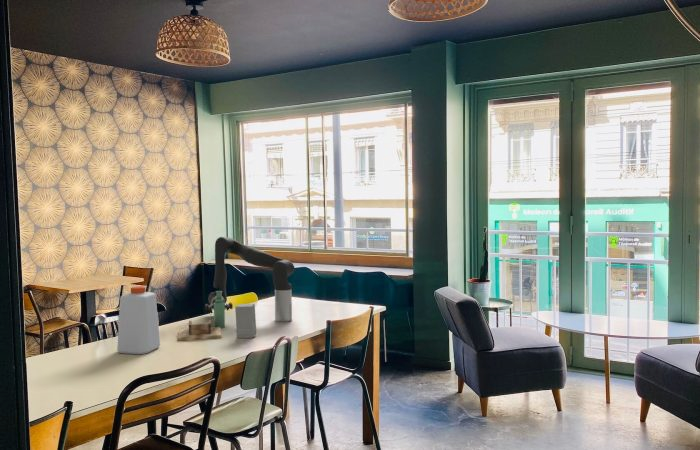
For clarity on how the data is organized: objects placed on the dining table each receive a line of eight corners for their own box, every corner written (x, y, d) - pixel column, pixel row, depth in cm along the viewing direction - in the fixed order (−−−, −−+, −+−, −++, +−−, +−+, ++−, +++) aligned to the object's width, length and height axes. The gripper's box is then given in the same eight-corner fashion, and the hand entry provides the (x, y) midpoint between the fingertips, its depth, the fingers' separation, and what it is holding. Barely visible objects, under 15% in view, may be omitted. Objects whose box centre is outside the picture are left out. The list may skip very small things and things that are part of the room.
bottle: (225, 325, 289) (225, 290, 288) (224, 328, 283) (223, 291, 282) (215, 325, 288) (214, 290, 287) (213, 328, 283) (212, 292, 282)
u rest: (220, 329, 279) (220, 317, 279) (221, 338, 262) (221, 324, 262) (179, 332, 274) (179, 319, 274) (178, 340, 257) (177, 327, 256)
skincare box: (256, 335, 267) (256, 303, 267) (252, 338, 260) (252, 306, 260) (239, 334, 268) (239, 303, 268) (235, 338, 261) (234, 305, 260)
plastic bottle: (144, 355, 232) (143, 290, 231) (113, 353, 235) (111, 289, 234) (163, 346, 247) (162, 285, 246) (133, 344, 250) (132, 284, 249)
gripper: (205, 297, 299) (205, 302, 283) (231, 296, 303) (233, 301, 287) (205, 310, 299) (205, 316, 284) (231, 309, 303) (233, 315, 287)
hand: (219, 308), depth 285 cm, fingers open, 8 cm apart
